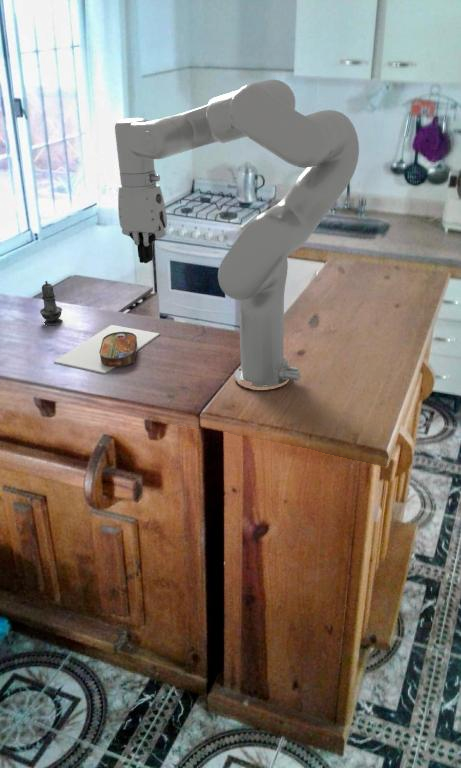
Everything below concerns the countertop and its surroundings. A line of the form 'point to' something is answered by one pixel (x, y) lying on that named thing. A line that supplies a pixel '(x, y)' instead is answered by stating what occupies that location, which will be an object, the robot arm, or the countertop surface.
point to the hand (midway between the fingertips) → (146, 261)
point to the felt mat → (89, 350)
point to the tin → (118, 349)
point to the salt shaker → (50, 307)
